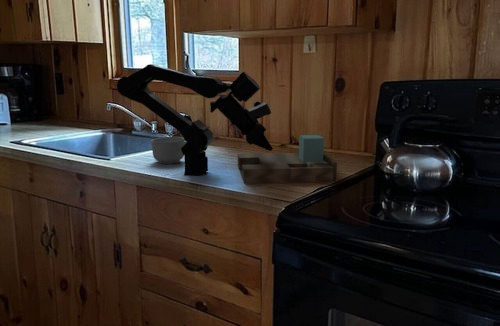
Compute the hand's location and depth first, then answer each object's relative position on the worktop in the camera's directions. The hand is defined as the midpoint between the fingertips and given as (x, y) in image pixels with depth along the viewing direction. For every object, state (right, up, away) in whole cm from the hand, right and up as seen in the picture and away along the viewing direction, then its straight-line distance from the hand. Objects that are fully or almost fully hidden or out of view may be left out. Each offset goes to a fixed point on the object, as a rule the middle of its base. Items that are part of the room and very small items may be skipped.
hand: (271, 149), depth 138 cm
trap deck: (+4, -7, +2) cm, 8 cm away
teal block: (+12, -3, +2) cm, 12 cm away
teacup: (-34, -4, +19) cm, 39 cm away
